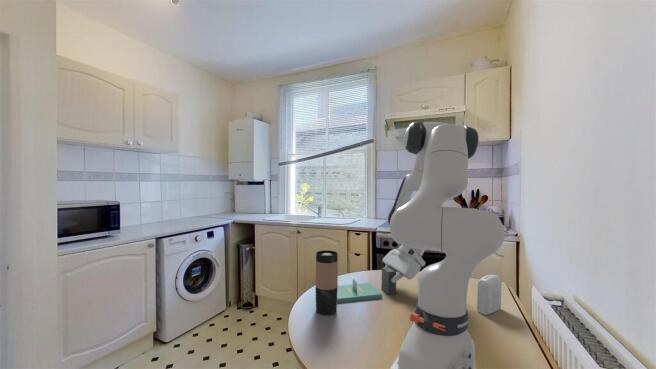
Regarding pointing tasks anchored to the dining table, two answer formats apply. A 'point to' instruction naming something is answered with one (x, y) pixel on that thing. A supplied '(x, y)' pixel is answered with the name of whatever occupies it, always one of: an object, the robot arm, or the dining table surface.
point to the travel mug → (326, 282)
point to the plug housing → (388, 280)
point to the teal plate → (357, 292)
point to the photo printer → (489, 294)
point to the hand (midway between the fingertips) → (387, 278)
